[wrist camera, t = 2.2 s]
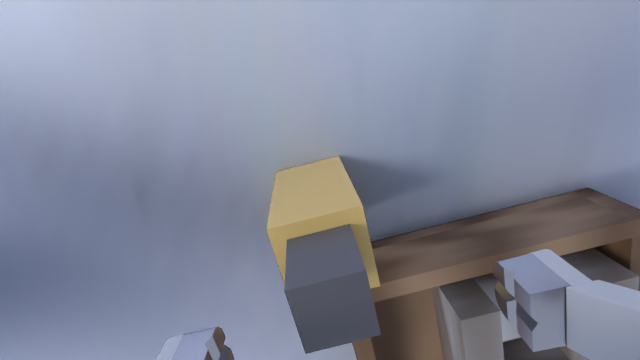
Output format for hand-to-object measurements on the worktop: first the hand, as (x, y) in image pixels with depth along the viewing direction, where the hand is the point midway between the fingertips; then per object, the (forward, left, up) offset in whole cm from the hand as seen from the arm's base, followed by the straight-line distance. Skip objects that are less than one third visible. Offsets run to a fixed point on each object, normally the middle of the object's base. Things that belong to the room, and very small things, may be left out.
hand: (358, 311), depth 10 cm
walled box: (+7, -11, -10) cm, 17 cm away
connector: (-1, 0, -10) cm, 10 cm away
